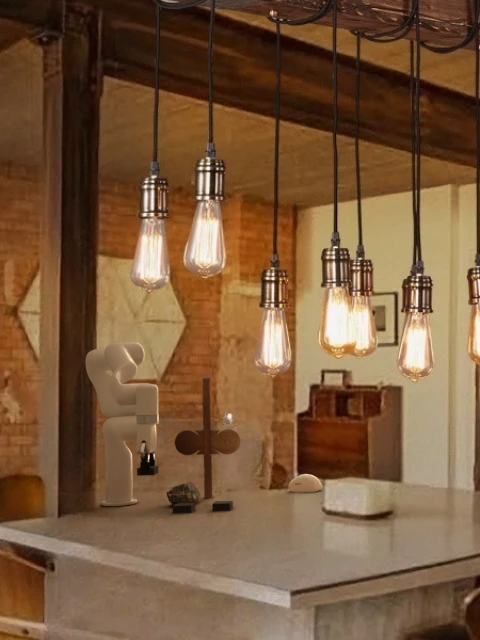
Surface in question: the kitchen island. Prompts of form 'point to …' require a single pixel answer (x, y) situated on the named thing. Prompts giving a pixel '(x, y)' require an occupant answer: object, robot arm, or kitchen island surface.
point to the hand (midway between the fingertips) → (147, 471)
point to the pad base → (184, 508)
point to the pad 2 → (222, 505)
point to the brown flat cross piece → (207, 440)
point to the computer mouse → (305, 484)
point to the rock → (183, 493)
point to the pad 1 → (153, 471)
